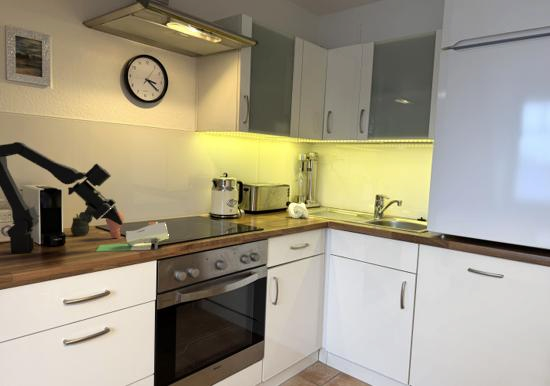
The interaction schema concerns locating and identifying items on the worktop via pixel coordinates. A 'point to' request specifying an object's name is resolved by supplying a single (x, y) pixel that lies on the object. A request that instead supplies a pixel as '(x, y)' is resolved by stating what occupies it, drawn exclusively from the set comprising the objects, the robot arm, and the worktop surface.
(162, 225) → the beer glass
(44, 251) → the worktop surface
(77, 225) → the mate gourd
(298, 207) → the white lumpy piece
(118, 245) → the putting mat
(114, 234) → the light bulb
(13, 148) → the robot arm
